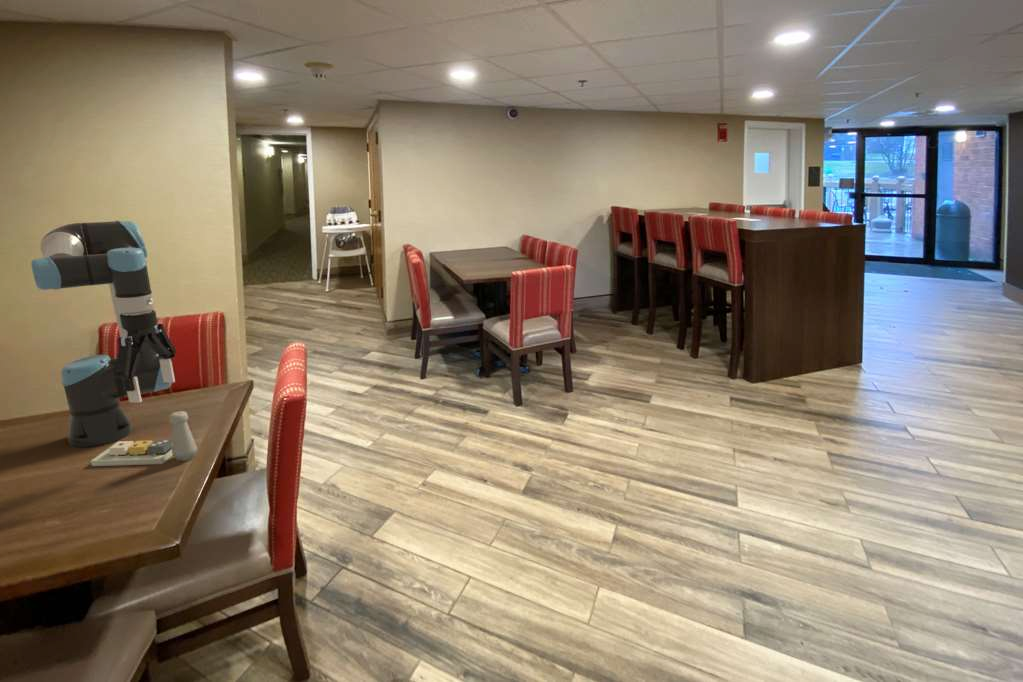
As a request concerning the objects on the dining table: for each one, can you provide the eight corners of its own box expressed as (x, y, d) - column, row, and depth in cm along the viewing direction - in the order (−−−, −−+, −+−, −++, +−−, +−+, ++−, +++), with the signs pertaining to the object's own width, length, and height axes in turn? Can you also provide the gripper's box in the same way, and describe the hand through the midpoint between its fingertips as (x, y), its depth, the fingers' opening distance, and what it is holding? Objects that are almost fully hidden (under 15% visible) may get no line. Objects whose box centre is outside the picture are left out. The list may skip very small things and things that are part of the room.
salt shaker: (187, 464, 147) (178, 418, 144) (168, 462, 148) (159, 416, 145) (203, 453, 153) (195, 409, 149) (184, 452, 154) (176, 408, 150)
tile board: (91, 466, 147) (90, 461, 147) (113, 450, 156) (112, 445, 155) (162, 463, 148) (161, 458, 147) (180, 448, 156) (179, 443, 156)
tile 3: (148, 453, 149) (147, 446, 149) (157, 446, 153) (155, 439, 153) (164, 453, 149) (162, 446, 149) (172, 446, 153) (170, 439, 153)
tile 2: (129, 454, 149) (128, 447, 149) (138, 447, 153) (137, 440, 152) (145, 453, 149) (143, 446, 149) (153, 447, 153) (152, 439, 153)
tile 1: (110, 455, 149) (108, 447, 148) (119, 448, 153) (118, 441, 152) (125, 454, 149) (124, 447, 149) (134, 447, 153) (133, 440, 152)
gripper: (116, 325, 127) (135, 411, 133) (182, 300, 151) (195, 374, 157) (84, 324, 127) (104, 411, 133) (154, 300, 151) (168, 374, 157)
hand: (153, 391), depth 145 cm, fingers open, 13 cm apart
